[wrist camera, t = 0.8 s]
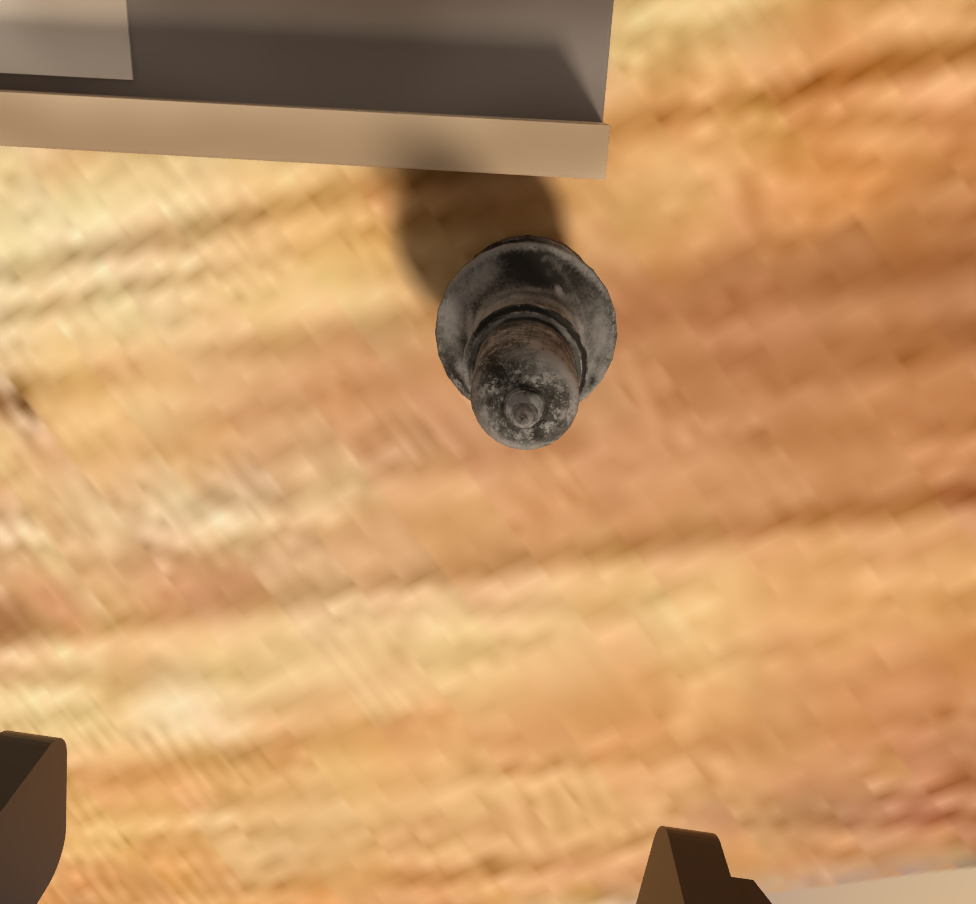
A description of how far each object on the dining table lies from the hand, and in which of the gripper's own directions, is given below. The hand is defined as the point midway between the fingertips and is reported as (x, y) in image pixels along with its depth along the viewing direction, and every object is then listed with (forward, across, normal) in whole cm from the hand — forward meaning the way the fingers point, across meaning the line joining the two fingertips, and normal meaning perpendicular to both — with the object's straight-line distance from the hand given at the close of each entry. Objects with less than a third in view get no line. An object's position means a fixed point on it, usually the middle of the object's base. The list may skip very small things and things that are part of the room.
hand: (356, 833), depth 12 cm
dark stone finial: (+23, -2, -4) cm, 23 cm away
